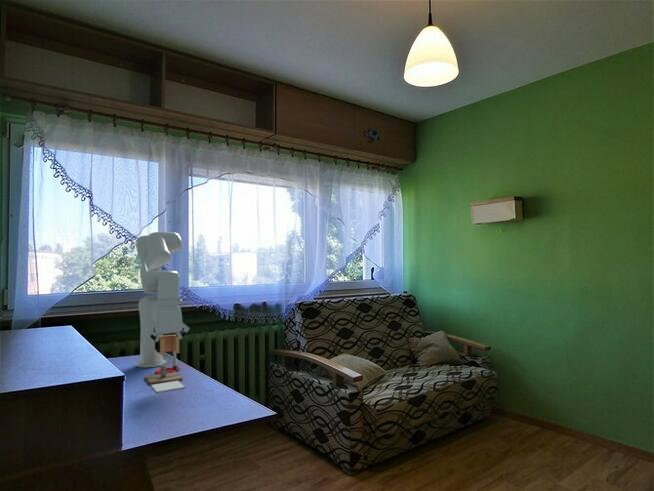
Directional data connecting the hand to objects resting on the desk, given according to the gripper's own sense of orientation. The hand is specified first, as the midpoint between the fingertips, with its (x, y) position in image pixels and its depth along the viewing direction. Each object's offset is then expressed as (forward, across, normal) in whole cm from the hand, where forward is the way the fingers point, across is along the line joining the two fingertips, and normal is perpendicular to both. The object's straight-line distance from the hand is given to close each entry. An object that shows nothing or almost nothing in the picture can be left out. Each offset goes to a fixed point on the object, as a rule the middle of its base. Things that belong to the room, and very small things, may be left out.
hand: (168, 350), depth 158 cm
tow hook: (+14, -5, -24) cm, 28 cm away
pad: (+14, 0, 0) cm, 14 cm away
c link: (+1, 0, 0) cm, 1 cm away
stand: (+14, -1, -12) cm, 18 cm away
